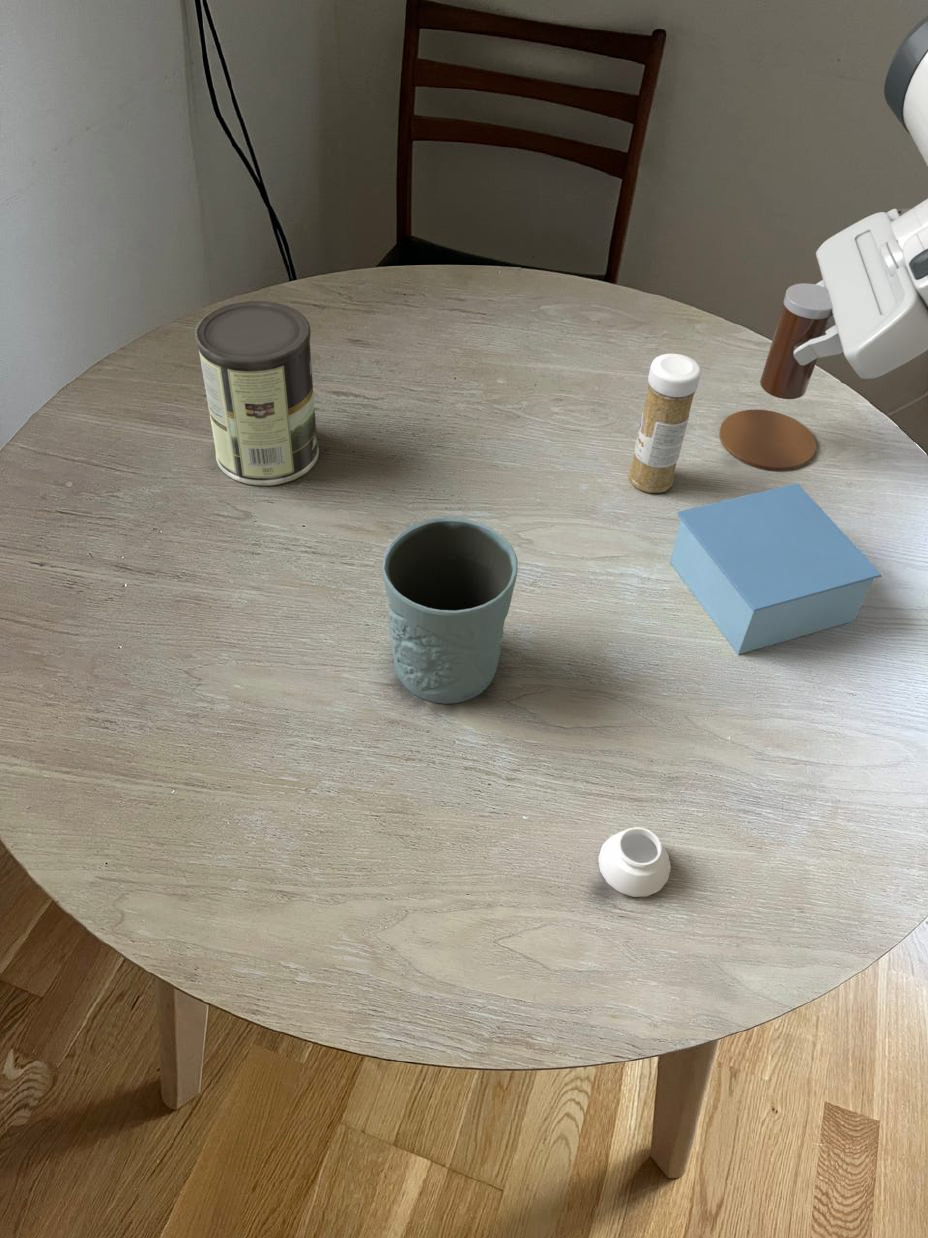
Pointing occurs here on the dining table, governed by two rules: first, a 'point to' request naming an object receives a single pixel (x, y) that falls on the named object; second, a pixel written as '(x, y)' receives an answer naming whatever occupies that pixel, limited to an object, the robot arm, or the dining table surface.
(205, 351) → the coffee can
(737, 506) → the storage box
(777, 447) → the brown coaster
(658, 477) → the sprinkles bottle
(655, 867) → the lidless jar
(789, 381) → the cylinder
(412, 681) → the embossed green cup
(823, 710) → the dining table surface
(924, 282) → the robot arm
